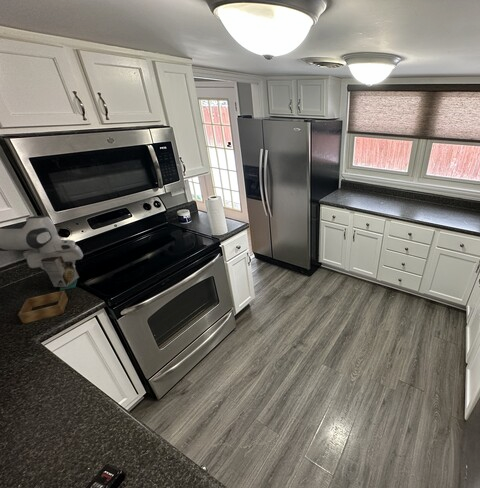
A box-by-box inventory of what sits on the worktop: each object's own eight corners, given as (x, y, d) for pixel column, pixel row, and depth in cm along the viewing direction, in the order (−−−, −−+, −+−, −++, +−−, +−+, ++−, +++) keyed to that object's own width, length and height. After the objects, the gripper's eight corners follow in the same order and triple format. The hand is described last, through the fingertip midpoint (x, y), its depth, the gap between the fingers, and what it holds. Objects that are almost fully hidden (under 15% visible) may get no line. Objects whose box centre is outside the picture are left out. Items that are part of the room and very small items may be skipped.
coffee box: (66, 277, 144) (55, 251, 137) (79, 277, 145) (68, 251, 138) (53, 287, 136) (39, 260, 129) (67, 286, 137) (54, 259, 130)
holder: (22, 324, 115) (17, 315, 113) (31, 307, 125) (26, 298, 123) (63, 313, 122) (58, 304, 120) (68, 298, 132) (64, 290, 129)
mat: (60, 290, 137) (59, 289, 137) (62, 283, 143) (62, 282, 143) (75, 287, 140) (74, 286, 140) (77, 280, 146) (77, 279, 146)
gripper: (19, 253, 124) (32, 278, 130) (76, 244, 134) (86, 267, 140) (23, 248, 128) (35, 272, 134) (78, 239, 139) (87, 262, 145)
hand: (61, 270), depth 137 cm, fingers closed on coffee box, 8 cm apart
